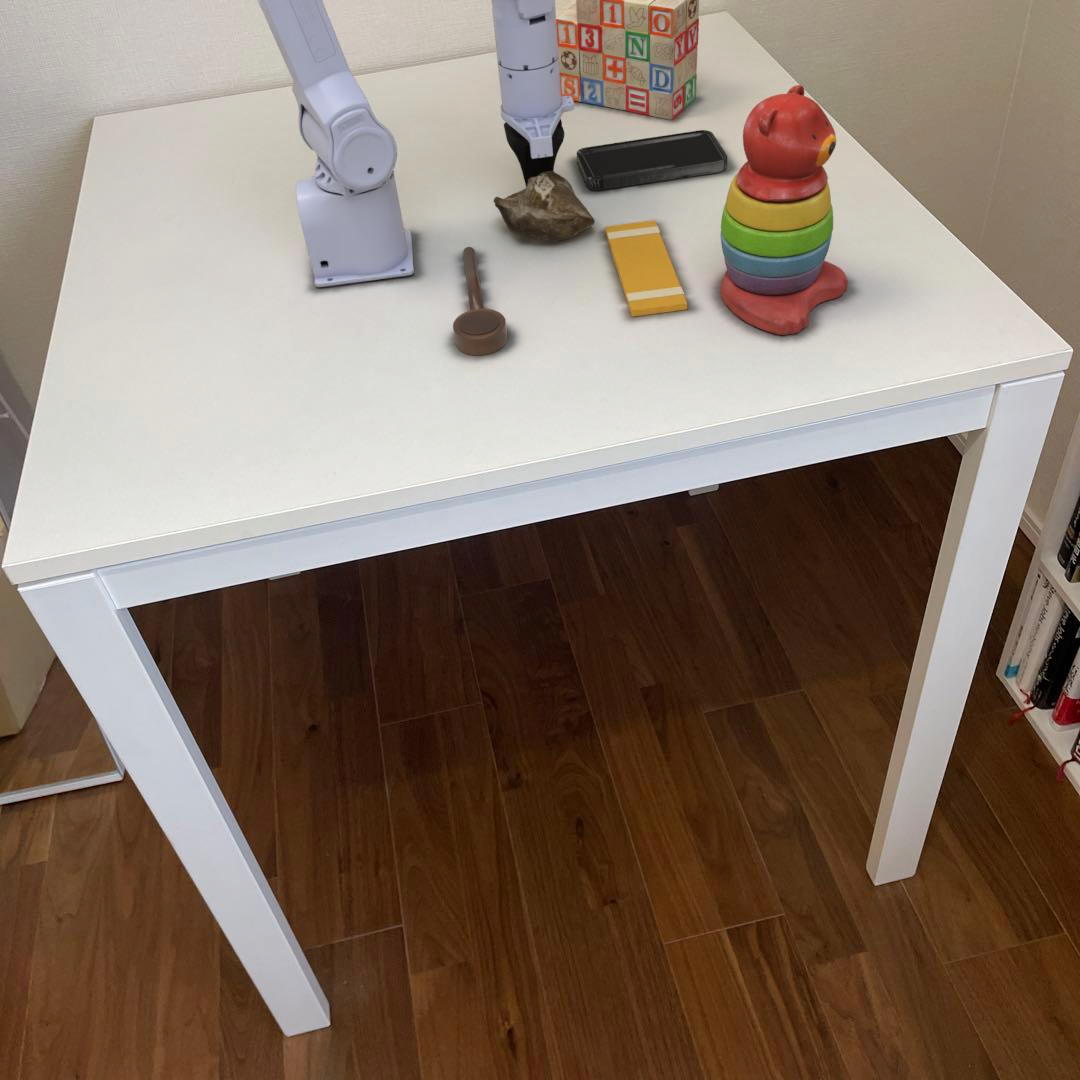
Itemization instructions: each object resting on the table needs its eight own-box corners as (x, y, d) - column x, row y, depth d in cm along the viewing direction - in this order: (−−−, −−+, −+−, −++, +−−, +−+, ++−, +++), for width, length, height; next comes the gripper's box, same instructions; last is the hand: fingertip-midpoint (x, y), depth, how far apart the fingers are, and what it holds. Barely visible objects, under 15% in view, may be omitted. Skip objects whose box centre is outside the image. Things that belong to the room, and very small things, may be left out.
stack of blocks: (515, 91, 133) (505, -17, 125) (542, 71, 137) (534, -35, 128) (673, 120, 124) (674, 6, 116) (698, 98, 128) (700, -14, 119)
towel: (631, 317, 98) (631, 309, 97) (604, 232, 108) (604, 225, 108) (687, 309, 98) (687, 301, 97) (655, 226, 108) (655, 218, 108)
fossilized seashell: (473, 214, 108) (549, 260, 104) (498, 148, 105) (577, 192, 101) (516, 220, 114) (589, 264, 110) (541, 159, 111) (617, 201, 107)
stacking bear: (791, 342, 93) (811, 140, 80) (692, 305, 98) (697, 109, 86) (856, 284, 98) (884, 86, 86) (759, 251, 104) (772, 60, 91)
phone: (574, 149, 119) (709, 128, 120) (575, 158, 119) (709, 138, 120) (588, 182, 113) (730, 160, 114) (589, 192, 114) (730, 170, 115)
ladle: (446, 258, 107) (443, 241, 106) (492, 252, 107) (490, 235, 106) (457, 358, 95) (454, 340, 94) (509, 351, 95) (507, 333, 94)
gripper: (581, 84, 97) (588, 223, 107) (560, 24, 108) (568, 156, 117) (502, 94, 97) (517, 233, 107) (488, 33, 107) (502, 165, 117)
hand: (539, 193), depth 112 cm, fingers closed
